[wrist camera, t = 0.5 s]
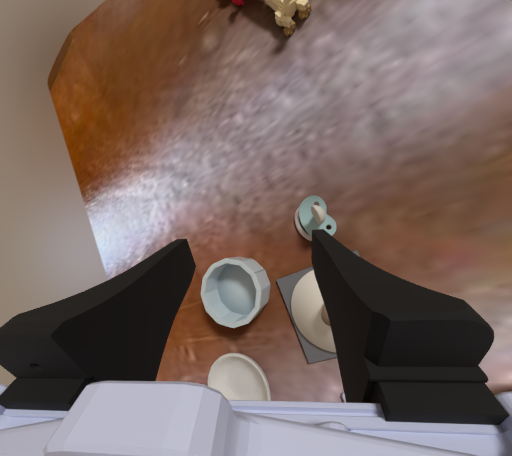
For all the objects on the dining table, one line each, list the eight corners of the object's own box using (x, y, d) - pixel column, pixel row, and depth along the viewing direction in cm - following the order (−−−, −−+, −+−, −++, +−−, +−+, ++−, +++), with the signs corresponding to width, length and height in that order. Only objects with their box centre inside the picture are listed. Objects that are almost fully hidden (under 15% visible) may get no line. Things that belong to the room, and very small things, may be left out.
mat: (400, 340, 30) (401, 342, 30) (309, 361, 34) (309, 363, 34) (356, 250, 33) (356, 250, 32) (277, 279, 37) (276, 280, 37)
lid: (396, 339, 30) (405, 353, 26) (310, 359, 34) (307, 374, 30) (355, 254, 33) (357, 255, 29) (280, 281, 36) (273, 286, 33)
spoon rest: (209, 353, 41) (185, 374, 34) (261, 337, 38) (246, 358, 31) (253, 495, 36) (234, 552, 29) (318, 492, 33) (313, 555, 26)
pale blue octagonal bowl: (279, 307, 37) (271, 316, 32) (227, 324, 40) (213, 334, 35) (256, 248, 39) (246, 249, 34) (209, 269, 42) (193, 272, 37)
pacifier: (307, 247, 36) (340, 232, 34) (300, 249, 30) (340, 230, 28) (288, 211, 38) (319, 194, 36) (279, 205, 32) (315, 185, 30)
